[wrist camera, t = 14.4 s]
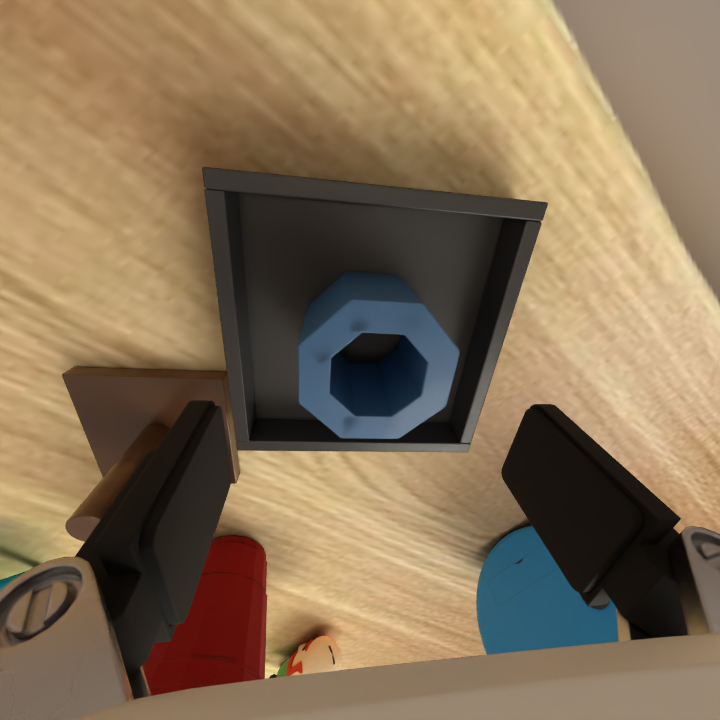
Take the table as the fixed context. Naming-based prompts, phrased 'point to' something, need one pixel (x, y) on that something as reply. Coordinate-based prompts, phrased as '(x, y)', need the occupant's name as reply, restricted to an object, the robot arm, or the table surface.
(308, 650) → the toy figurine
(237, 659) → the plastic cup
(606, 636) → the alarm clock
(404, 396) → the ring
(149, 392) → the dowel stand
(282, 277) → the tray
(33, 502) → the table surface
